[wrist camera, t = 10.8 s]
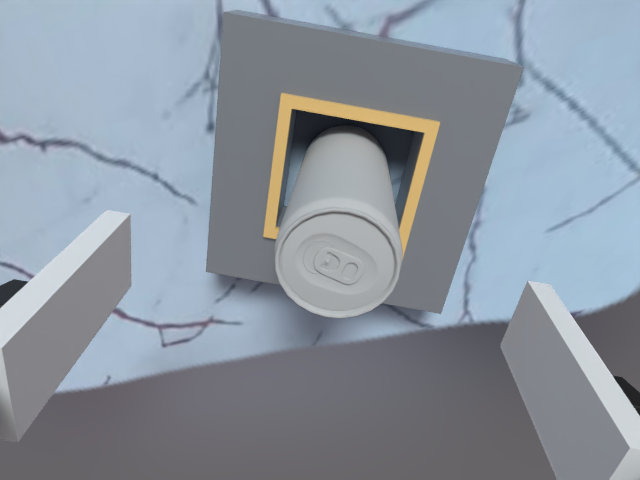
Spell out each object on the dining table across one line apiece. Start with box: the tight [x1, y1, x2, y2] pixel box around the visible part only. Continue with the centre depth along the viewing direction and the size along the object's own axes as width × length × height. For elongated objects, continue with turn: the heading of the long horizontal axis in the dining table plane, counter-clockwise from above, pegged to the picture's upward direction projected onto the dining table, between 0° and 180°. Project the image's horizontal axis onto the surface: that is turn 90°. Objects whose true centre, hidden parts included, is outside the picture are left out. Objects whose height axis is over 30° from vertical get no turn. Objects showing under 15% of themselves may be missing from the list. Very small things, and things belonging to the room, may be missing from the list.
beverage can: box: [275, 125, 403, 318], centre depth 23 cm, size 5×5×12 cm
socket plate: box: [206, 10, 524, 314], centre depth 27 cm, size 14×14×3 cm
